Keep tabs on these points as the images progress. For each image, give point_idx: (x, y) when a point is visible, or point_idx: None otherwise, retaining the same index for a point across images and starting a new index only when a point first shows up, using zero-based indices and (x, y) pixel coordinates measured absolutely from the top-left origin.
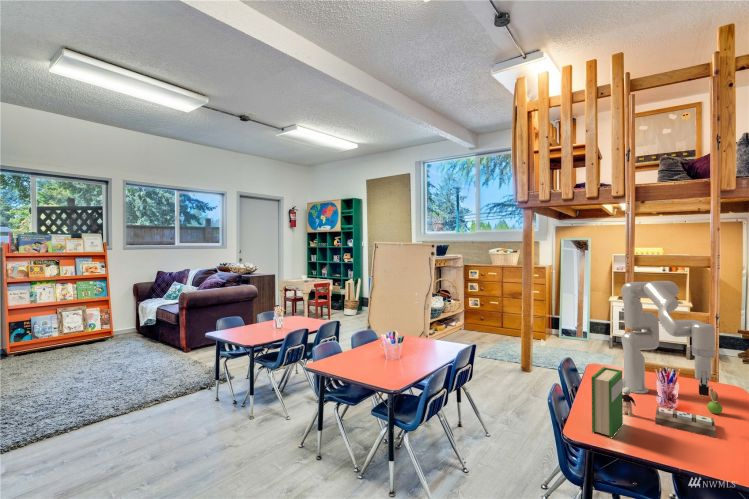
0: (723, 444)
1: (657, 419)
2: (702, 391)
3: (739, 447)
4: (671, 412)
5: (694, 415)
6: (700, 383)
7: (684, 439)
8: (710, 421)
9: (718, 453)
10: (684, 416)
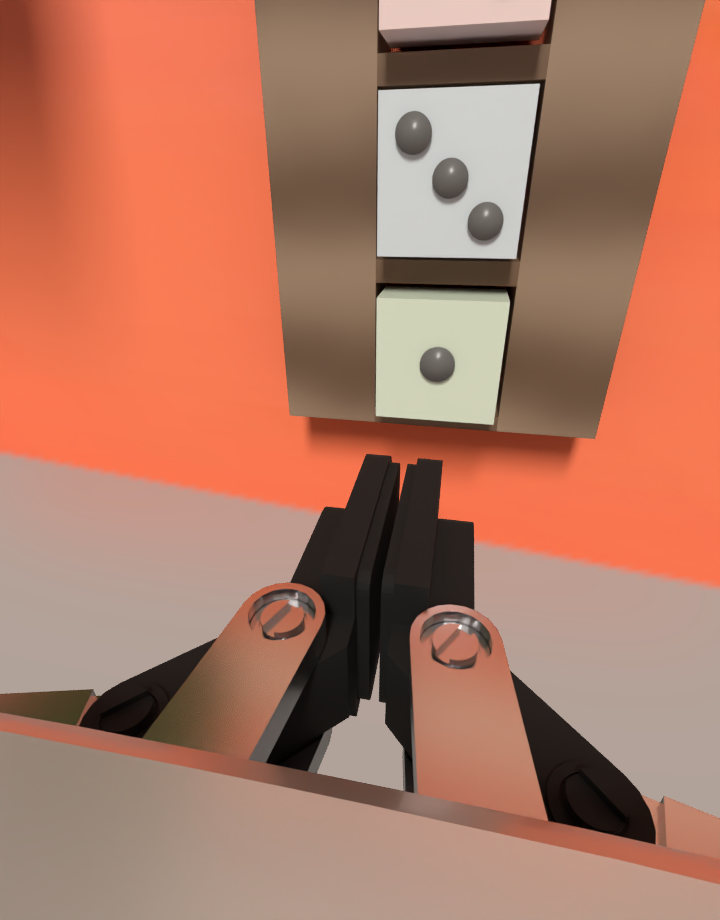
0: (229, 419)
1: None
2: (315, 536)
3: (251, 488)
4: (429, 7)
5: (591, 284)
6: (217, 653)
7: (109, 180)
8: (391, 408)
9: (71, 375)
10: (378, 181)
